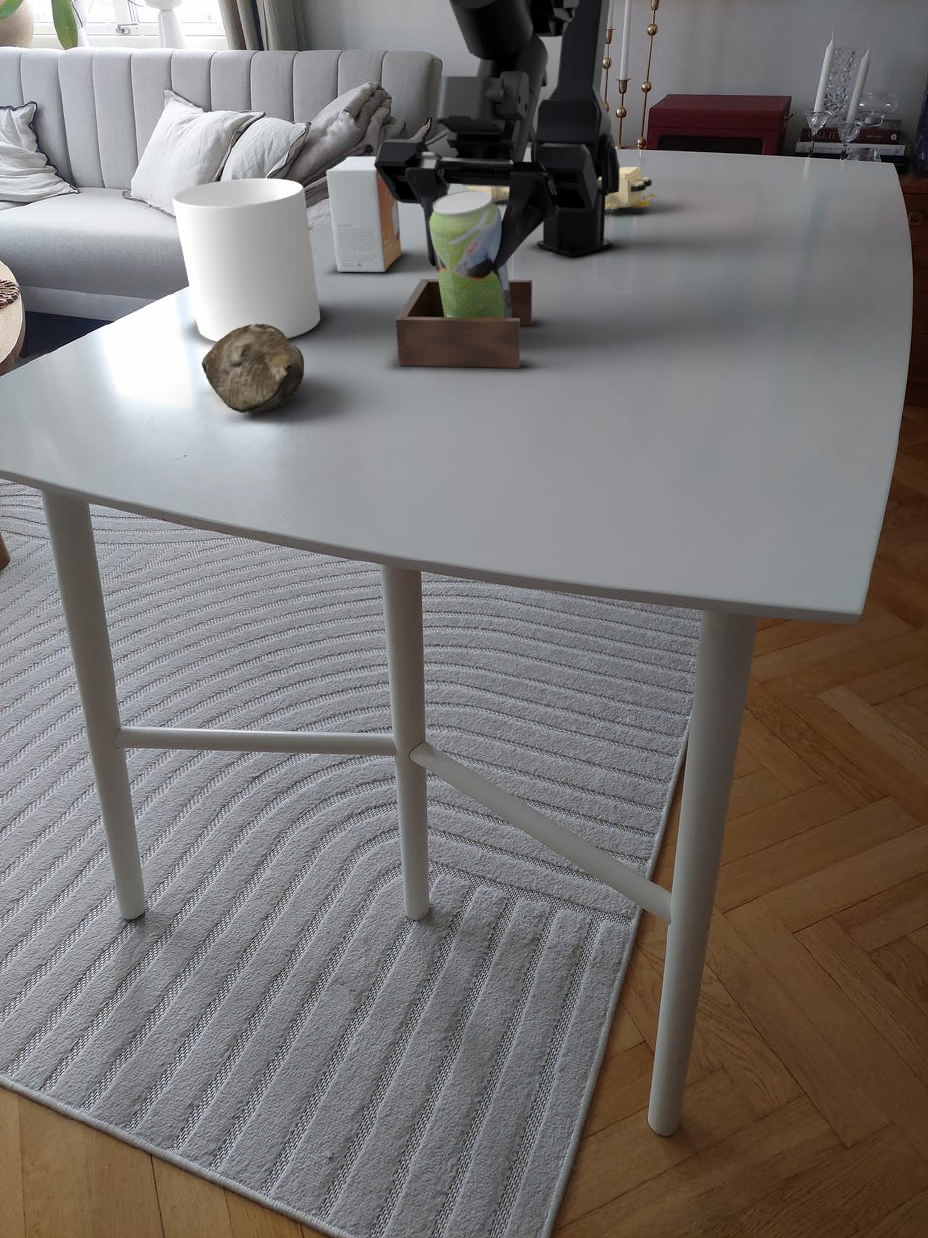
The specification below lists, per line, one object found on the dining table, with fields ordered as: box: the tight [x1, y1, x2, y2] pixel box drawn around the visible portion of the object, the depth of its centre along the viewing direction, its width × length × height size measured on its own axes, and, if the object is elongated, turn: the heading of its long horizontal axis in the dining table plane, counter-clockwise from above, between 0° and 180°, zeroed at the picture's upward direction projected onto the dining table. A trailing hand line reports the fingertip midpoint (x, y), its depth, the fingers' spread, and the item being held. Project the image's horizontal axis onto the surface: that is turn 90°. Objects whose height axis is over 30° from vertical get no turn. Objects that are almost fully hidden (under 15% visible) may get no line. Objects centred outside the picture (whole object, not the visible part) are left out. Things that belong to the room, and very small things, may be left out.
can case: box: [395, 278, 533, 369], centre depth 86 cm, size 10×12×4 cm
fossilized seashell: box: [201, 324, 305, 414], centre depth 77 cm, size 8×7×10 cm
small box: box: [325, 156, 402, 273], centre depth 106 cm, size 8×6×10 cm
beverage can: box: [429, 189, 513, 318], centre depth 83 cm, size 6×7×12 cm
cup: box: [172, 177, 321, 343], centre depth 90 cm, size 12×12×12 cm
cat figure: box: [466, 166, 656, 210], centre depth 126 cm, size 10×9×25 cm
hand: (462, 266), depth 82 cm, fingers closed on beverage can, 5 cm apart
